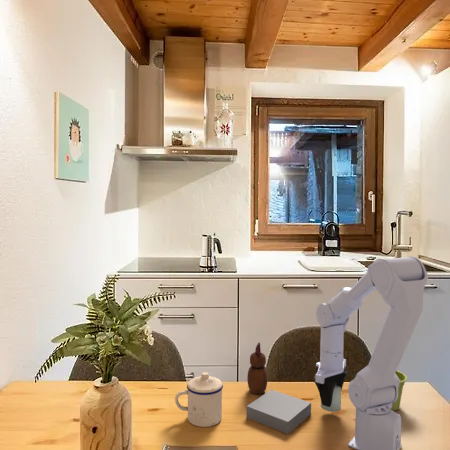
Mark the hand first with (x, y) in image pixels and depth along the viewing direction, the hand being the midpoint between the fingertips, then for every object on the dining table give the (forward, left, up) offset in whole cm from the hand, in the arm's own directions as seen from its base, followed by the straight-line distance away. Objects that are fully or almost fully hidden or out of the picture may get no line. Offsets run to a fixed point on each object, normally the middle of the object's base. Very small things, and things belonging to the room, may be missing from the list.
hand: (330, 401), depth 107 cm
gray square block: (+10, +9, -4) cm, 14 cm away
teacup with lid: (+25, +23, -4) cm, 34 cm away
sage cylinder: (0, 0, -2) cm, 2 cm away
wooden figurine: (+22, +1, -4) cm, 22 cm away
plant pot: (-10, -14, -4) cm, 18 cm away
